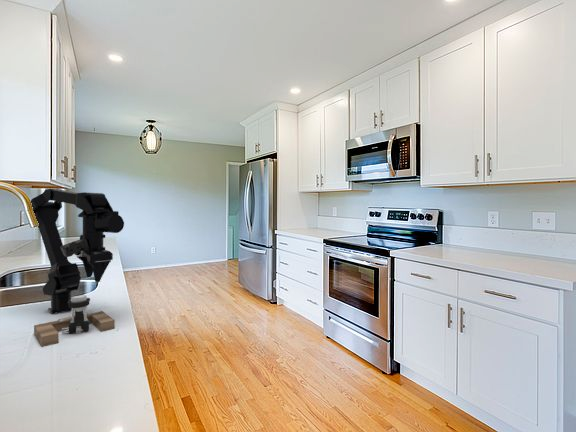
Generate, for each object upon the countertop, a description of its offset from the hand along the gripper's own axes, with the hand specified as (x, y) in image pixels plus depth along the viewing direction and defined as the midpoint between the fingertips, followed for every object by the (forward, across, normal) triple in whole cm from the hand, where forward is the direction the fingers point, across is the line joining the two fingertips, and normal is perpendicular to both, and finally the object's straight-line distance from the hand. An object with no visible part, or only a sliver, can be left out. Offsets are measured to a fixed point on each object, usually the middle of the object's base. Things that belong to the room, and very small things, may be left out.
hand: (93, 279), depth 102 cm
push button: (+12, +11, -7) cm, 18 cm away
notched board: (+12, +10, -7) cm, 17 cm away
